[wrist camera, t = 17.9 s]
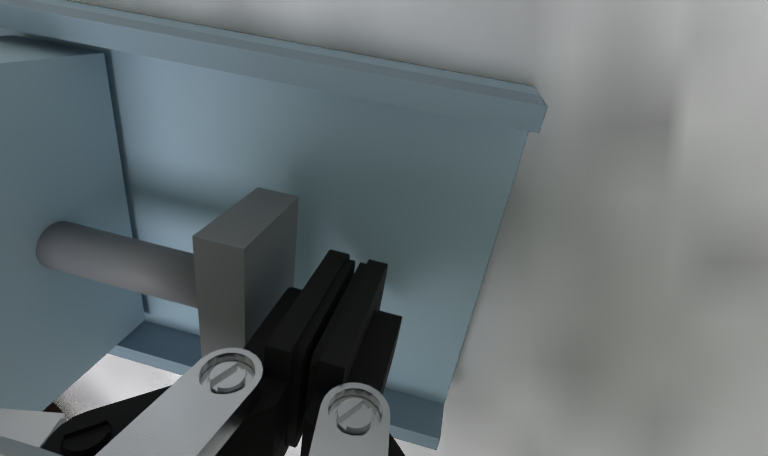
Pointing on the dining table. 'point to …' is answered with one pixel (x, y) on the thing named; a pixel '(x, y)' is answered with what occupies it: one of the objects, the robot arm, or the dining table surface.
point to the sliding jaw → (105, 234)
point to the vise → (308, 171)
